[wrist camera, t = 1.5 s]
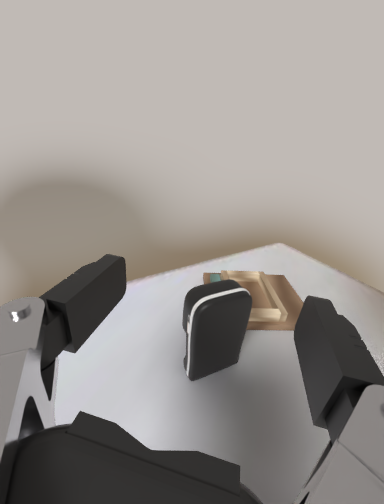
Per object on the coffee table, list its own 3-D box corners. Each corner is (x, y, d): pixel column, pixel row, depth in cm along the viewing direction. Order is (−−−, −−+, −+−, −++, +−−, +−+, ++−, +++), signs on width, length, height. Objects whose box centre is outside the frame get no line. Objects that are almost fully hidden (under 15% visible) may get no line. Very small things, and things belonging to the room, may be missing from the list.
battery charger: (223, 340, 31) (236, 270, 26) (239, 363, 28) (258, 290, 23) (176, 357, 28) (180, 283, 23) (188, 384, 25) (196, 307, 20)
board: (282, 280, 45) (285, 268, 44) (316, 330, 34) (322, 316, 32) (203, 277, 44) (204, 265, 43) (211, 329, 33) (213, 314, 31)
